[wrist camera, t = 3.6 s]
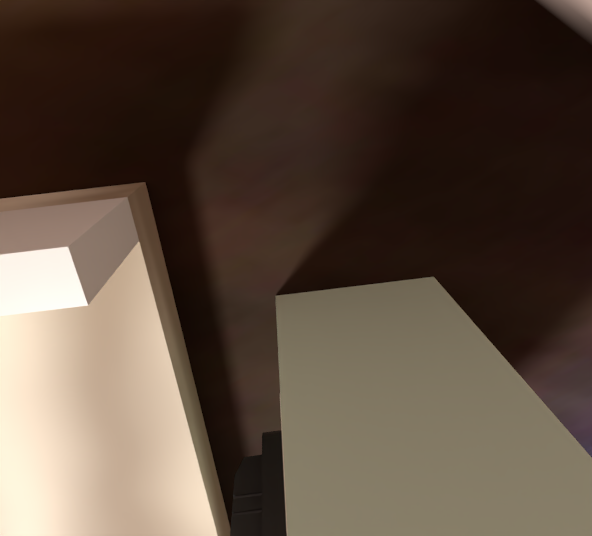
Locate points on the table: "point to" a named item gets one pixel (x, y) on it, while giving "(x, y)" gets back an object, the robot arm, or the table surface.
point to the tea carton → (416, 423)
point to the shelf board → (96, 375)
